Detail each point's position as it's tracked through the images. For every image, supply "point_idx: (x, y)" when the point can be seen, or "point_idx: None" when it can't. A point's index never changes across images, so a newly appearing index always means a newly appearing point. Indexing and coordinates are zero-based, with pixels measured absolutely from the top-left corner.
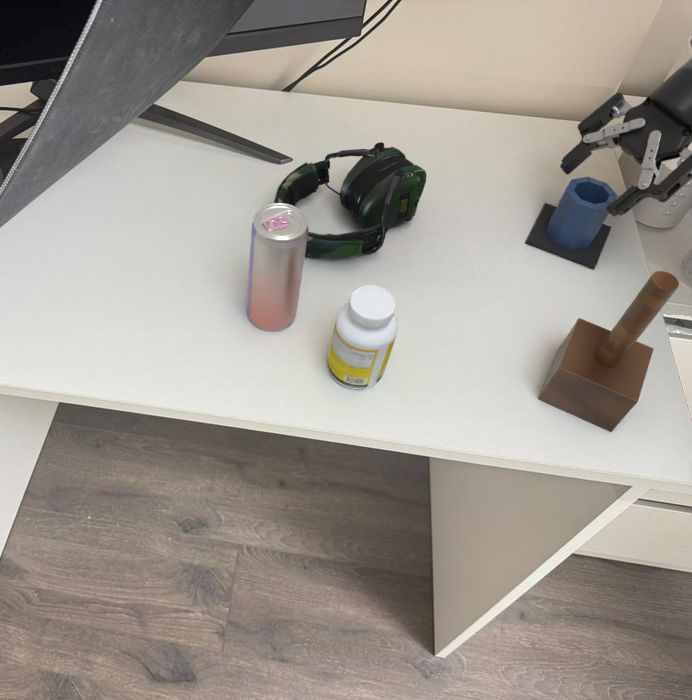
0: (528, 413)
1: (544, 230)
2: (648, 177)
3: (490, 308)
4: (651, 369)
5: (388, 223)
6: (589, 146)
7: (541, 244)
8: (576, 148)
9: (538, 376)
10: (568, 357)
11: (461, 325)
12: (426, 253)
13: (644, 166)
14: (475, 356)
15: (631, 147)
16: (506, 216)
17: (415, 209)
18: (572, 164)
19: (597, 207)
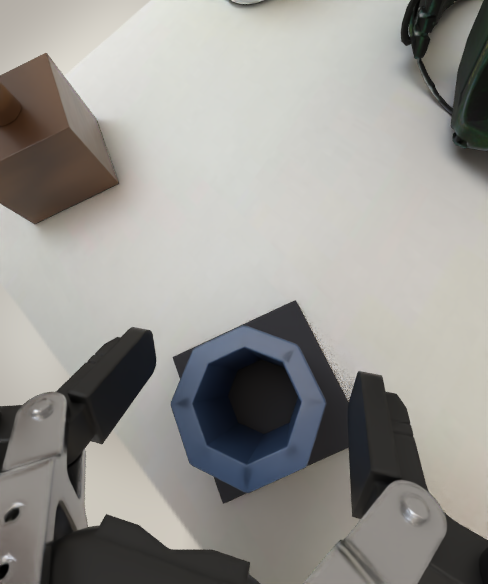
0: (93, 100)
1: None
2: (23, 441)
3: (223, 156)
4: (19, 265)
5: (458, 87)
6: (373, 494)
7: (272, 318)
8: (407, 456)
9: (113, 139)
10: (44, 70)
11: (226, 108)
12: (369, 142)
13: (39, 463)
14: (181, 96)
15: (160, 567)
16: (377, 329)
17: (465, 118)
18: (356, 409)
19: (193, 358)
